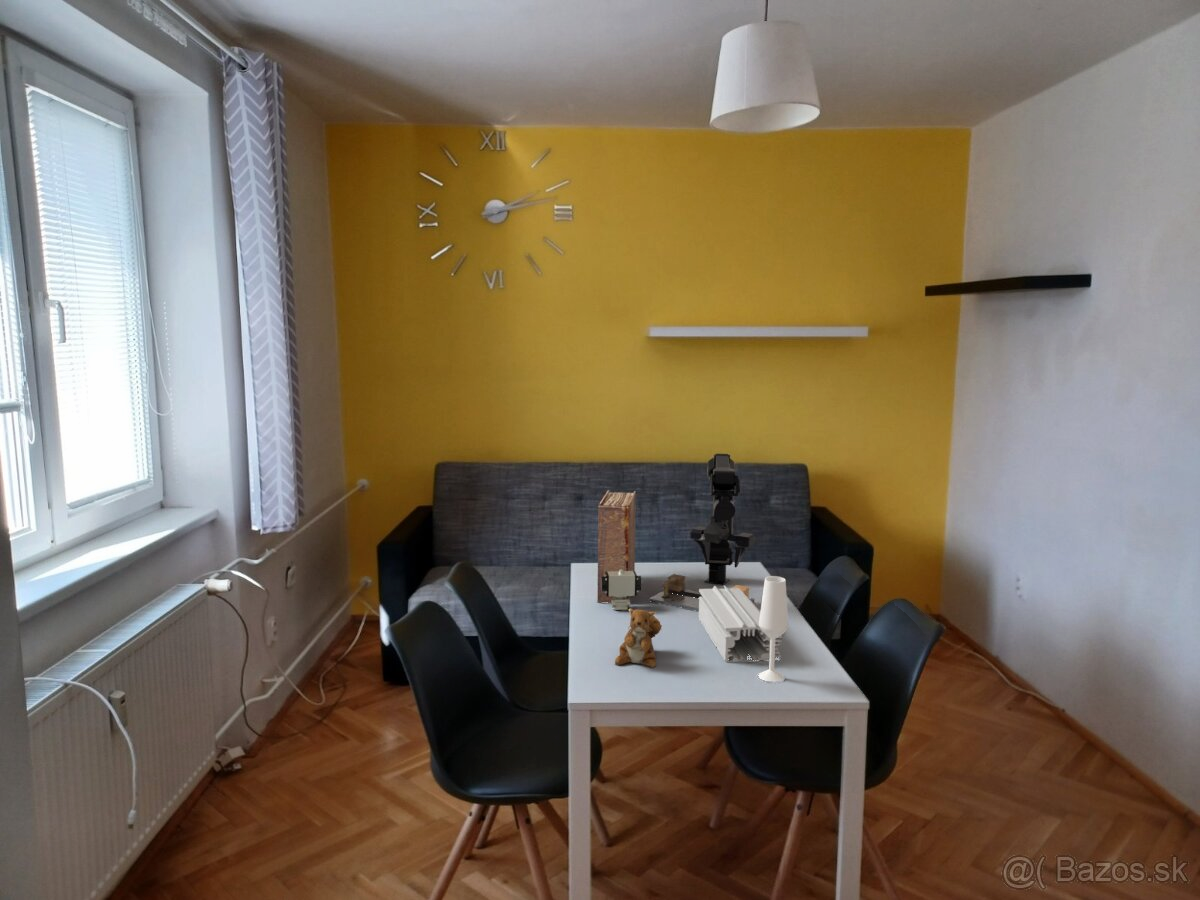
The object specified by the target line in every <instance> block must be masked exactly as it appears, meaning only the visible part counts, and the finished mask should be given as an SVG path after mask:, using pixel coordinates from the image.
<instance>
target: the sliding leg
mask: <svg viewBox="0 0 1200 900" xmlns="http://www.w3.org/2000/svg"><path fill="white" fill-rule="evenodd" d="M732 588H740V589H741V591H742V592H743V593H744V594H745V595H746V597H747V596H748V597H750V595H749V594H750V587H749V586H745V585H737V584H736V585H734V586H733V587H732Z"/></svg>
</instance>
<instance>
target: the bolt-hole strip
mask: <svg viewBox="0 0 1200 900" xmlns="http://www.w3.org/2000/svg"><path fill="white" fill-rule="evenodd" d="M650 601H651V602H650ZM653 602H655V603H654V604H658V603H661V604H660V605H663V604H665V606H668V605H671V606H670V607H673V606H676V607H675V608H678V607H682V608H681V609H684V608H685V609H684V610H689V609H691V610H690V611H694V610H696V611H695V612H699V599H698V598H693V597H688V596H682V595H677V594H672V593H668V596H664V591H660V592H658V593H657V594H655V595H653V596H651V597H650V598H649V603H653Z"/></svg>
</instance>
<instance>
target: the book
mask: <svg viewBox="0 0 1200 900" xmlns="http://www.w3.org/2000/svg"><path fill="white" fill-rule="evenodd" d="M636 497H637V492H636V491H635V490H634V491H633V492H615V491H614V492H611V491H610V489H608V490H607V491H606V493H605V494H604V496H603V497H602V499H601V501H600V502H599V504H598V506H597V512H598V513H597V514H598V515H597V517H598V518H597V522H598V524H597V603H598V602H608V603H607V604H611V601H612V599H613V598H614V597H615V596H606V593H605V591H601V587H600V579H601V576H604V575H605V571H619V570H620V569H622V570H623V571H635V572H636V569H635V568H636V567H635V565H636V564H635V562H636V560H635V559H636V505H637V502H636V499H637V498H636ZM626 597H627V599H629V600H630V597H631V596H626Z"/></svg>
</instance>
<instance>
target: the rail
mask: <svg viewBox="0 0 1200 900" xmlns="http://www.w3.org/2000/svg"><path fill="white" fill-rule="evenodd" d="M668 593H673V594H678V595H683V596H688V597H695V598H699V597H702V595H701V594H700V592H699V591H696V590H689V589H686V588H685V589H683V590H681V591H680V592H678V591H673V590H668ZM749 599H750V600H751V601H752V602H753V603H754V604H755V598H752V597H750V598H749Z"/></svg>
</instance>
